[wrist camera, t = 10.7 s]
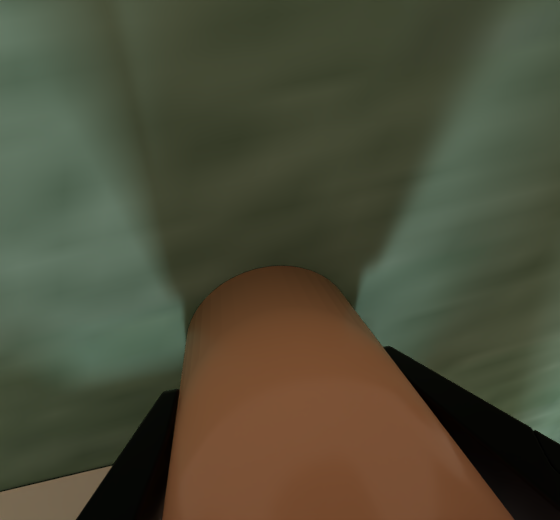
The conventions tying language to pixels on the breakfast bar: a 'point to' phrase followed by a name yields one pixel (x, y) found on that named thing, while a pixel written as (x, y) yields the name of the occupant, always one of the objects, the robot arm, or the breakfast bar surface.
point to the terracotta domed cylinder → (306, 416)
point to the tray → (51, 497)
